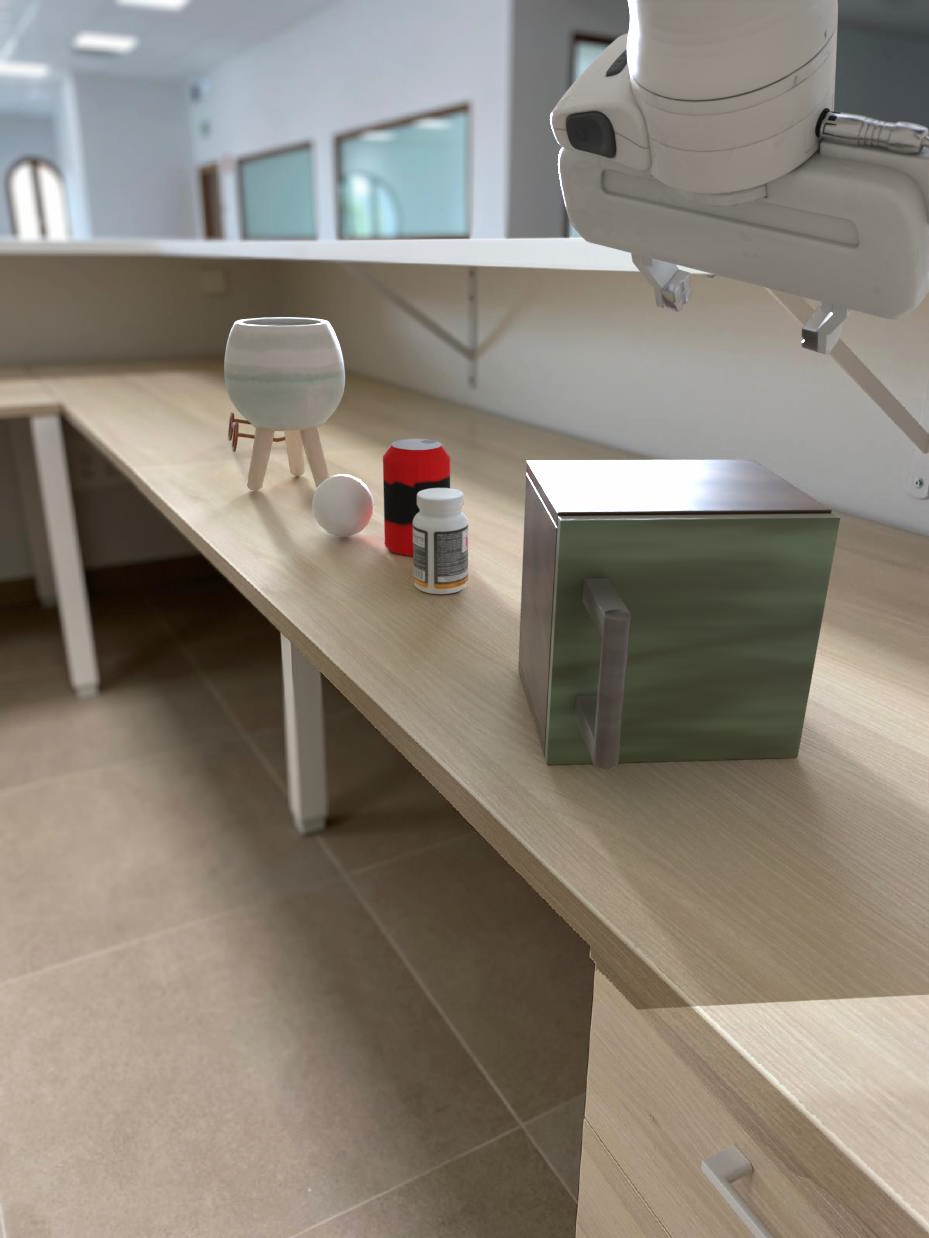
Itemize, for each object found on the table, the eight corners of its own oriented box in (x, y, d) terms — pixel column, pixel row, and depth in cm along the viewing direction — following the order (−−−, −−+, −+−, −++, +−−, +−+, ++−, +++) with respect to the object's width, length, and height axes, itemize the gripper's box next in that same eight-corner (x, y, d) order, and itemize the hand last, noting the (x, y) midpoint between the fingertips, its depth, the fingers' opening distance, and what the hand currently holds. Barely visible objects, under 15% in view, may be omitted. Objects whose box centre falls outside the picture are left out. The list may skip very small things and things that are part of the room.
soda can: (463, 545, 109) (464, 444, 104) (419, 561, 103) (418, 455, 99) (415, 532, 113) (415, 434, 108) (371, 547, 108) (368, 444, 103)
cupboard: (790, 750, 67) (832, 509, 60) (543, 757, 66) (557, 512, 59) (725, 665, 80) (753, 459, 73) (518, 670, 78) (526, 460, 71)
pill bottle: (472, 578, 99) (473, 487, 95) (462, 598, 93) (463, 502, 89) (419, 575, 99) (419, 484, 96) (407, 594, 94) (406, 499, 90)
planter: (299, 466, 143) (291, 314, 134) (372, 484, 133) (367, 322, 125) (211, 485, 132) (195, 321, 123) (283, 507, 122) (271, 330, 113)
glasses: (227, 439, 160) (225, 410, 158) (303, 435, 164) (302, 407, 162) (233, 456, 148) (231, 425, 146) (315, 452, 152) (313, 421, 150)
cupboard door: (840, 813, 60) (894, 552, 53) (564, 823, 58) (582, 556, 51) (792, 750, 67) (833, 513, 60) (544, 757, 65) (557, 515, 58)
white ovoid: (383, 540, 110) (381, 480, 107) (321, 547, 107) (318, 485, 105) (360, 517, 119) (358, 460, 116) (302, 523, 116) (299, 465, 113)
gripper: (998, 84, 38) (951, 331, 50) (591, 35, 49) (629, 249, 60) (927, 184, 37) (894, 415, 48) (522, 112, 47) (574, 316, 59)
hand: (744, 322), depth 54 cm, fingers open, 8 cm apart
